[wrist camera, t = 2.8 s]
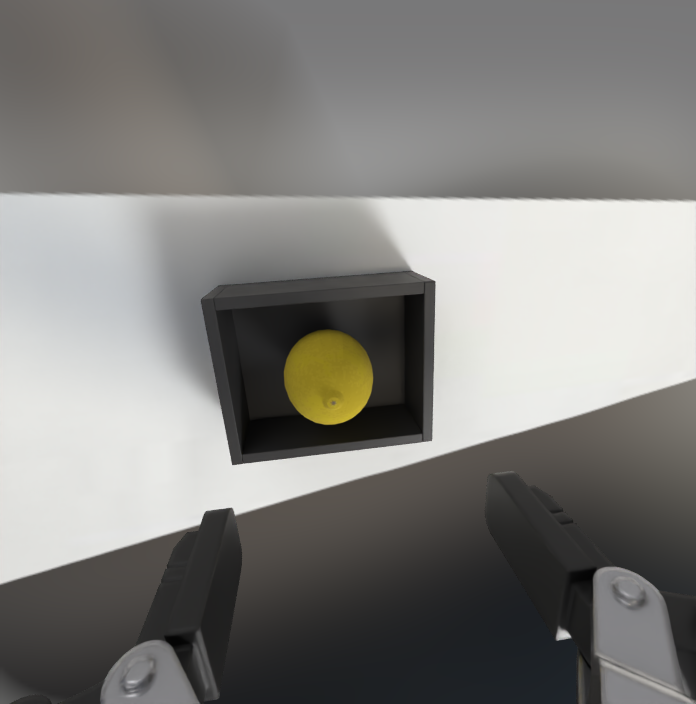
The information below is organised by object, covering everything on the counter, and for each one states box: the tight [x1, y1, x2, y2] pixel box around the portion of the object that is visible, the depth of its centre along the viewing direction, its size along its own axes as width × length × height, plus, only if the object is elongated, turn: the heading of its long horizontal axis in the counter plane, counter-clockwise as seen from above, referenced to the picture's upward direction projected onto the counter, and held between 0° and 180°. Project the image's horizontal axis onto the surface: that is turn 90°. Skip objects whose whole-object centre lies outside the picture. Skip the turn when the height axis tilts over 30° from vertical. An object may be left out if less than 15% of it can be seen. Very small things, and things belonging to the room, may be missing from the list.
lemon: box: [284, 329, 373, 425], centre depth 23 cm, size 6×6×8 cm
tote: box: [201, 271, 435, 465], centre depth 25 cm, size 13×11×5 cm
